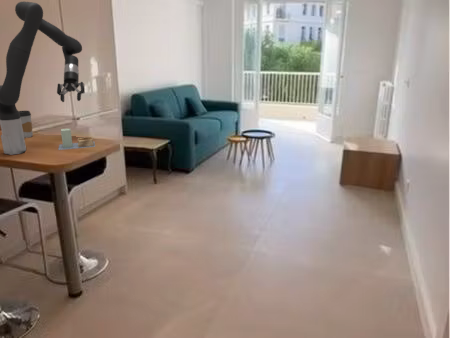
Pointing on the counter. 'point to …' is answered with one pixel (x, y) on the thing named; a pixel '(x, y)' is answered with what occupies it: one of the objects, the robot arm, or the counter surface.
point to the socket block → (85, 142)
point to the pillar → (66, 138)
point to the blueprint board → (75, 145)
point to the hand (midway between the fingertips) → (70, 101)
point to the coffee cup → (26, 123)
